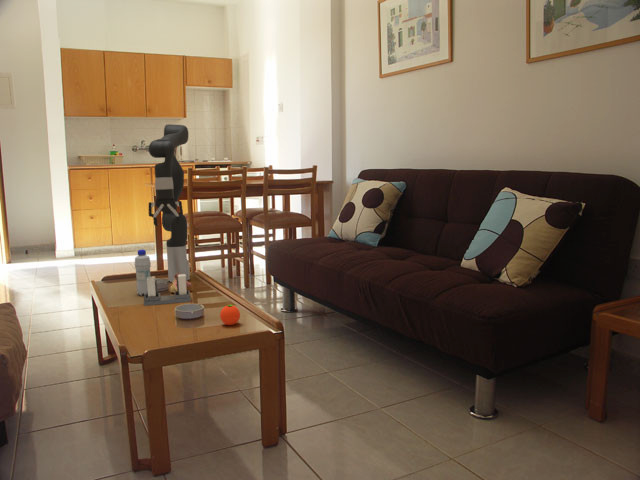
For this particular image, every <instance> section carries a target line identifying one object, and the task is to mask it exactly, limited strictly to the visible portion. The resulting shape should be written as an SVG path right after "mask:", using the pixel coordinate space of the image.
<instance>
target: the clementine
mask: <svg viewBox="0 0 640 480" xmlns="http://www.w3.org/2000/svg"><path fill="white" fill-rule="evenodd" d="M219 317H220V318H219V319H220V321H221V322H222V323H223V324H225V325H226V326H234V325H235V324H237V323H238V322H239V320H240V318H241V312H240V310H239V308H238V307H237V306H236V305H234V304H228V305H226V306H224V307H222V309H221V311H220V314H219Z"/></svg>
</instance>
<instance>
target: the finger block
mask: <svg viewBox="0 0 640 480" xmlns="http://www.w3.org/2000/svg"><path fill="white" fill-rule="evenodd" d="M186 288H187V287H186V275H185V274H180V275H178V278H177V291H178V292H179V295H184V294H187V291H188V290H186Z"/></svg>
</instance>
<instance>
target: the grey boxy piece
mask: <svg viewBox="0 0 640 480" xmlns="http://www.w3.org/2000/svg"><path fill="white" fill-rule="evenodd" d="M157 281H158V280H157V279H156V276H153V275H152V276H151V277H147V287H148V294H145V295H144V294H143V306H144V307H145V306H146V307H147V306H155V305H157V306H158V305H165V304H166V305H167V304H178V303H179V304H180V303H190V302H191V301H192V298H191V291H190V290H186V291H187V294H184V295H179V292H173V293H174V294H172V295H161V292H158V282H157Z"/></svg>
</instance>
